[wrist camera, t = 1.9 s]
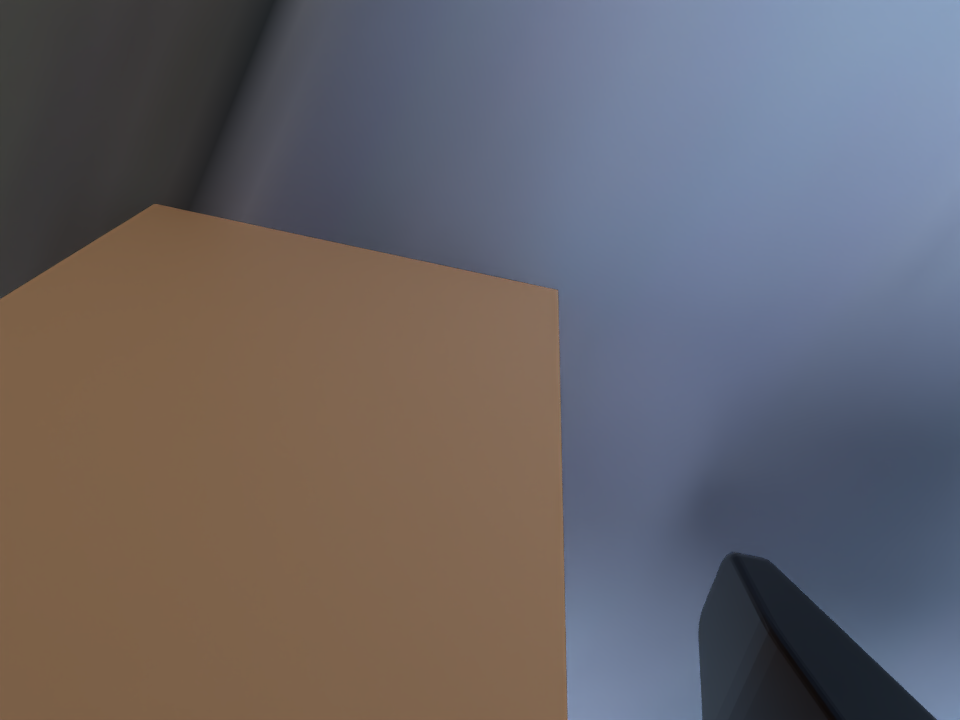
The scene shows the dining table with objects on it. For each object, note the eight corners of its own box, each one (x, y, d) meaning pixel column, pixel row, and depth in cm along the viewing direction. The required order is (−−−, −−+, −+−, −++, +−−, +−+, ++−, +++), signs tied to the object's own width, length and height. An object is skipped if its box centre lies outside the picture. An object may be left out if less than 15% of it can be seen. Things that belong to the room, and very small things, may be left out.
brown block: (558, 289, 9) (574, 974, 3) (479, 600, 11) (387, 1415, 5) (155, 204, 9) (-688, 721, 3) (144, 530, 11) (-378, 1267, 5)
